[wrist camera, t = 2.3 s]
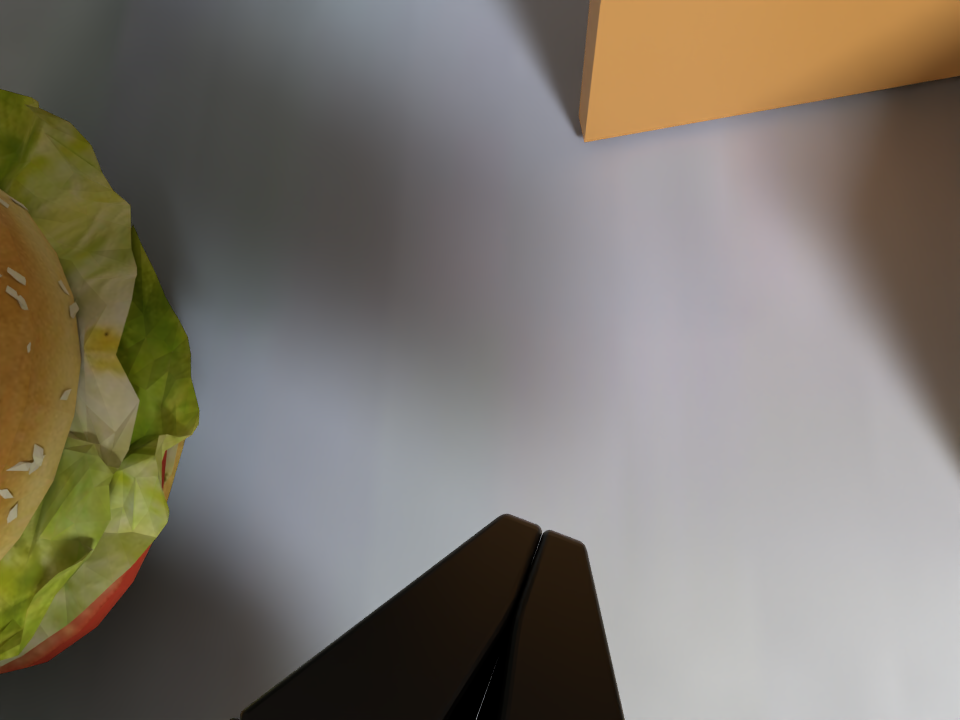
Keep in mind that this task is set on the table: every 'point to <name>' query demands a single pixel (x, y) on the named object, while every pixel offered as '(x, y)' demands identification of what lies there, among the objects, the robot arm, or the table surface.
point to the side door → (752, 56)
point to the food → (77, 389)
